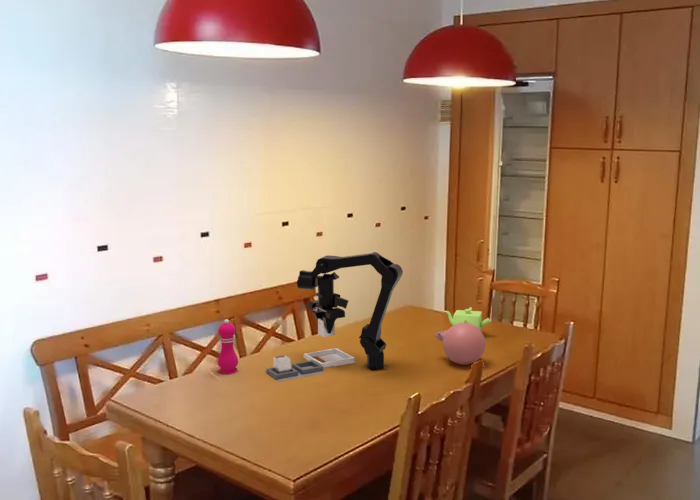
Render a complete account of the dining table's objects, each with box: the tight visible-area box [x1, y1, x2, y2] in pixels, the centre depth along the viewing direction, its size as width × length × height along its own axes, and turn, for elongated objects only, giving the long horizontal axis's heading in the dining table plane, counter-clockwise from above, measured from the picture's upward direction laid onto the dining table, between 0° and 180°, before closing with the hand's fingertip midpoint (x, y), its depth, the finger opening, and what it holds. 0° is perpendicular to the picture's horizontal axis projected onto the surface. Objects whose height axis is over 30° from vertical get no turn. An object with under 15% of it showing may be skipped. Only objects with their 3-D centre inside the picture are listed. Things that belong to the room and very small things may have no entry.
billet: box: [272, 355, 292, 374], centre depth 259 cm, size 4×4×6 cm
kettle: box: [443, 306, 492, 332], centre depth 309 cm, size 15×14×11 cm
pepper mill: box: [217, 319, 239, 375], centre depth 261 cm, size 7×7×20 cm
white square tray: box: [303, 347, 356, 369], centre depth 275 cm, size 14×14×2 cm
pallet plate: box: [264, 360, 326, 382], centre depth 262 cm, size 12×18×3 cm, turn 120°
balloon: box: [434, 323, 486, 366], centre depth 273 cm, size 15×20×15 cm
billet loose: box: [317, 318, 336, 338], centre depth 272 cm, size 4×4×6 cm
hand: (326, 331), depth 272 cm, fingers closed on billet loose, 4 cm apart
